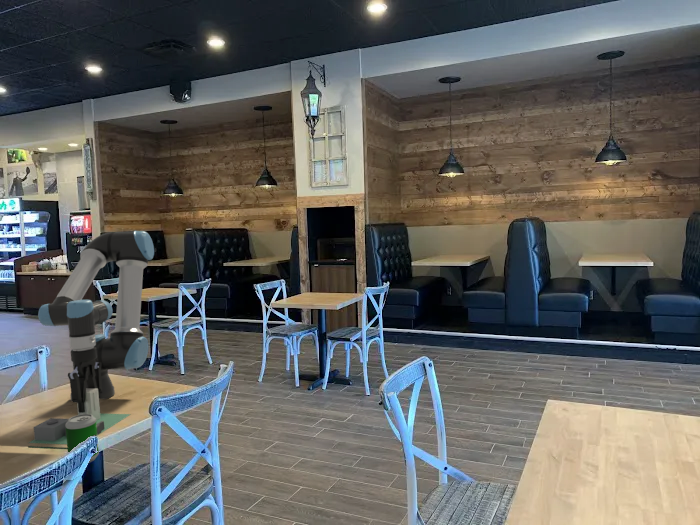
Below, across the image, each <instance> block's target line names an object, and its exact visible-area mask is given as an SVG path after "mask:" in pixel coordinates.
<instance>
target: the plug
mask: <svg viewBox="0 0 700 525" xmlns="http://www.w3.org/2000/svg"><path fill="white" fill-rule="evenodd" d="M81 399H82V398H81ZM85 401H88V413H89V414H91V415H92V416H93V417H95V418H96V420H98V419H100V413H101V408H100V399H99V394H98V388H86V400H85ZM76 406H77V415H80V414H79V411H78V410H79V409H78V403H77V402H76Z"/></svg>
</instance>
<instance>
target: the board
mask: <svg viewBox="0 0 700 525" xmlns="http://www.w3.org/2000/svg"><path fill="white" fill-rule="evenodd" d="M131 415H132V414H130V413H101V412H100V419H98V420H96V425H97V436H99V435H101V434H102V433H105V431H107V430H109V429H110V428H112V427H113V426H115V425H116V424H118V423H120V422H122V421H123V420H124V419H126V418H128V417H129V416H131ZM69 419H70V418H61V417H60V418H56V417H55V418H54V417H53V418H52V417H51V418H48V419H47V420H44V421H43V422H41V423H39V424H36V425H35V426H33V437H34V439H32V440H31V441H29V442H28V444H46V445H67V437H66V426H65V424H66V423H67V422H68V420H69ZM28 448H29V449H52V450H68V448H67V447H63V446H61V447H60V446H34V445H33V446H32V445H28Z"/></svg>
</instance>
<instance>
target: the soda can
mask: <svg viewBox="0 0 700 525" xmlns="http://www.w3.org/2000/svg"><path fill="white" fill-rule="evenodd" d="M68 419H69V420H68V422H67V423H66V424H65V426H66V437H67V444H66V446H67V447H66V448H68V449H67V453H68V452H70V451H71V450H72V449H73V448H74V447H76V446H77V445H78V444H79V443H81V442H83V441H85V440H86V439H87V438H88V437H90V436H97V437H98V435H97V425H96V418H95V417H93V416H92V415H91V414H81V415H78V414H77V415H73V416H71V417H69V418H68ZM97 451H98V452H97V453H95V454H94V455H93V456H92V457H91V459H90V461H89V463H92V462H93V461H95V460H96V458H97V457H98V456H99V454H100V452H99V443H98V444H97ZM89 463H88V464H89Z"/></svg>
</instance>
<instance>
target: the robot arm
mask: <svg viewBox="0 0 700 525" xmlns="http://www.w3.org/2000/svg"><path fill="white" fill-rule="evenodd" d="M154 256H155V246H154V243H153V239H152V238H151V236H150V234H149V233H148V232H147V231H144V230H140V231H139V230H132V231H110V232H109V231H108V232H106V233H105V232H104V233H103V234H100V235H99V236H97V237H95V238H94V239H92V240H91V241H90V242H88V244H86V246H85V247H84V248H83V249H82V251H81V252H80V259H79V261H78V262H77V264H76V265H75V267H74V268H73V271H72V272H71V274H70V275H69V276H68V279H66V281H65V283H64V284H63V286H62V288H61V289H60V291H59V292H58V293H57V296H56V297H55V299H54V300H53V302H51V303H46V304H42V305H41V306H40V307H39V309H38V314H37V318H38V321H39V322H40V323H41V325H43V326H46V327H47V326H48V327H60V326H61V327H62V326H64V327H65V326H68V335H69V336H68V339H69V349H71V350H70V360H71V362H72V368H73V371H71V372H68V373H67V377H68V379H69V384H70V395H69V396H70V402H72V403H76V404H77V403H78V408H77V412H78V411H79V414H80V415H81V414H89V413H88V401H85V400H86V388H98V394H99V400H106V399H109V398H111V397H113V396H114V395H115V394H116V392H115V391H116V390H115V386H114V385H113V382H112V380H111V377H110V375H109V370H131V369H137V368H141V367H142V366H143V364H144V363H145V362H146V360H147V358H148V355H149V354H148V353H149V340H148V339H147V337H145V336H144V332H143V331H142V330H141V329H140V326H141V325H140V323H141V312H142V311H141V309H142V295H143V293H142V292H143V280H144V277H143V275H144V269H145V268H147V267H148V263H149V261H152V259H153V258H154ZM109 262H115V264H116V265H117V267H119V274H118V275H119V276H118V288H117V300H116V301H117V302H116V315H115V327H114V329H112V331H111V332H110V333H109V334H110V336H109V338H106V335H105V334H103V333H101V334H100V333H99V334H96V330H95V326H96V325H99V324H103V323H105V322H106V321H108V320H109V319H111V317H112V315H113V312H114V311H113V307H112V305H111V303H109V302H108V301H106V300H103V299H100V300H95V301H93V300H91V299H83V298H84V296H85V295H86V293H87V291H88V289H89V288H90V286H91V285H92V283H93V281H94V280H95V277H96V276H97V275H98V272H99V271H100V269H102V268H104V267H105V266H106V265H107V263H109ZM81 398H82V399H81ZM78 409H79V410H78Z"/></svg>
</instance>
